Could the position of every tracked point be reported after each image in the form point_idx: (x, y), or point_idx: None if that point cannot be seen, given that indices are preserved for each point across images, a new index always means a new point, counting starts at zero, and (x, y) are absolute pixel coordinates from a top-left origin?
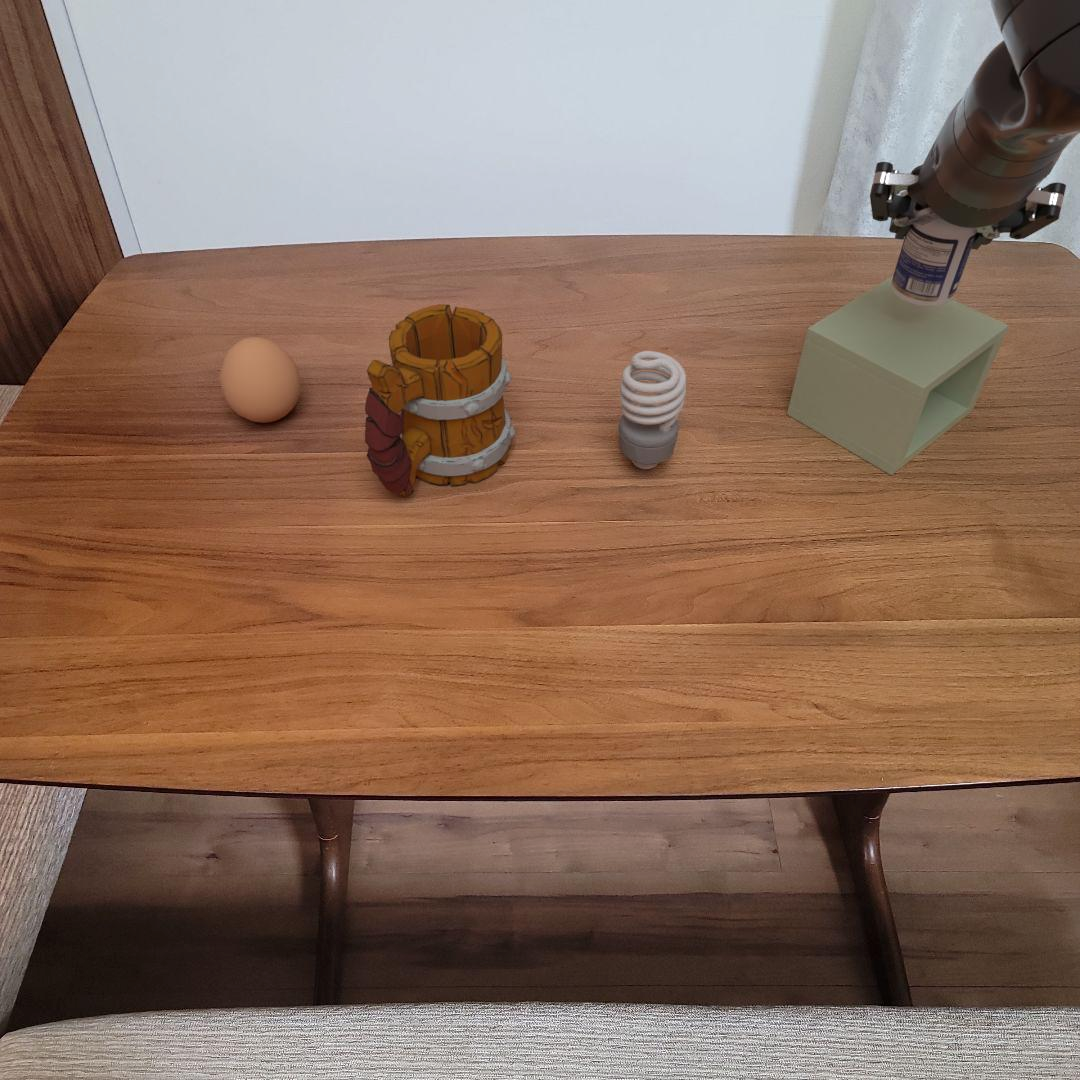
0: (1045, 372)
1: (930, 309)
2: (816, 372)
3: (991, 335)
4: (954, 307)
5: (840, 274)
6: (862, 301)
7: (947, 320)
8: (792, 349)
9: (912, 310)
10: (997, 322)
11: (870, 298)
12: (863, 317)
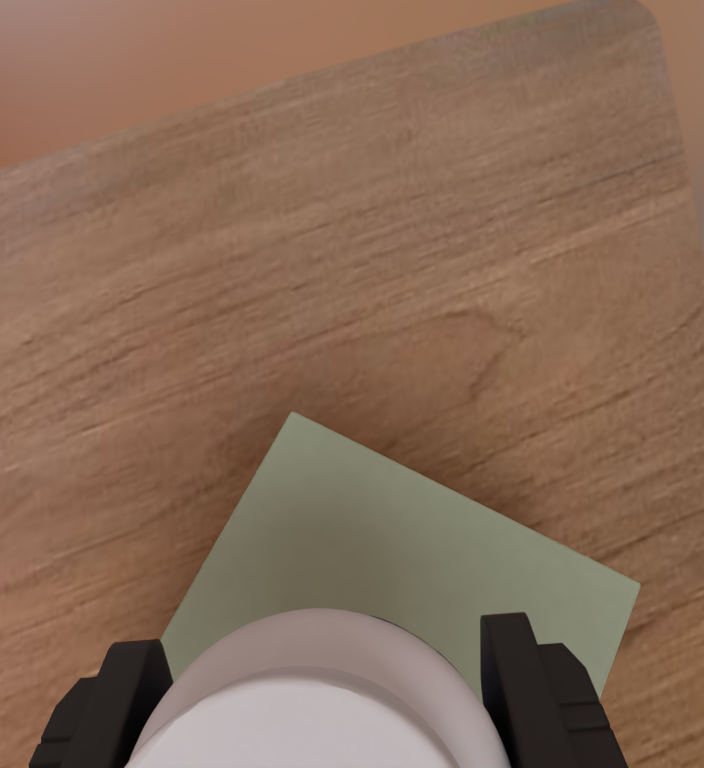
0: (678, 390)
1: (407, 578)
2: None
3: (602, 667)
4: (473, 540)
5: (234, 196)
6: (205, 608)
7: (463, 627)
8: (157, 498)
9: (356, 604)
10: (606, 581)
11: (228, 579)
12: None
